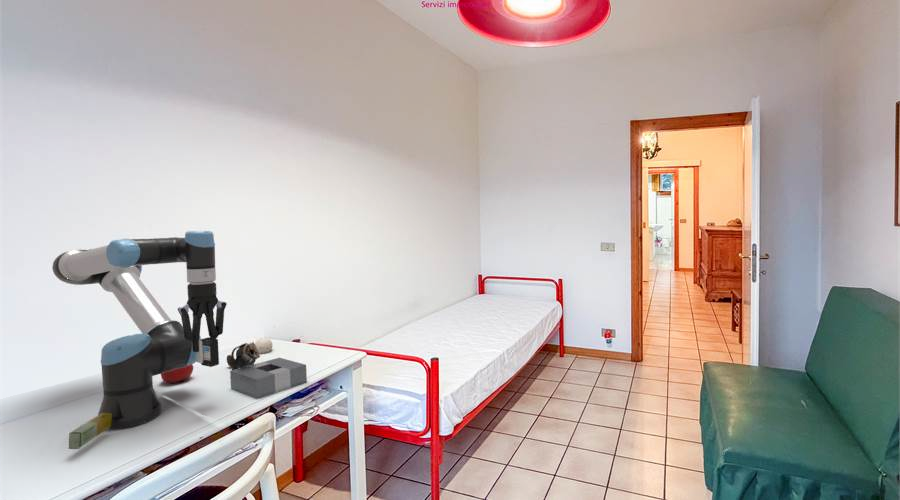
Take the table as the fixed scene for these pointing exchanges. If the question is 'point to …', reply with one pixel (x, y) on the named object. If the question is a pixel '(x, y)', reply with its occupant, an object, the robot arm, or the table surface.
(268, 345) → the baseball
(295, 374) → the grey block with hole
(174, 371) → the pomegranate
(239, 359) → the power plug
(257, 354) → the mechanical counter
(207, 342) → the ink cartridge
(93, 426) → the medication box
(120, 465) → the table surface
